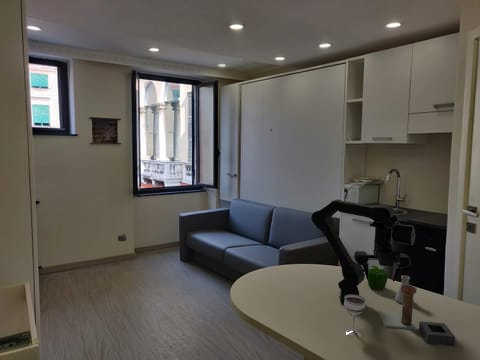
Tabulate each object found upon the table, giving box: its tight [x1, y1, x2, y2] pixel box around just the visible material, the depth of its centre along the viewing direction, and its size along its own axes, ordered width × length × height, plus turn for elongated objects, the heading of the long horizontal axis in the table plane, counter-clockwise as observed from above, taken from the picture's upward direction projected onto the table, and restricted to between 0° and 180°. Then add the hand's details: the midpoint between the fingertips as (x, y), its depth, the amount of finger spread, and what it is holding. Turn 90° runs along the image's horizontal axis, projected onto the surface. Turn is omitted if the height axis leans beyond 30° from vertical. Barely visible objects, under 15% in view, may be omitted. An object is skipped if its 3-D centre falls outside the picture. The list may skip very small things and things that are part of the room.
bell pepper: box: [366, 264, 389, 291], centre depth 154 cm, size 8×8×10 cm
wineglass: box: [343, 294, 366, 338], centre depth 119 cm, size 7×7×12 cm
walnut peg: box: [400, 284, 417, 326], centre depth 124 cm, size 5×5×13 cm
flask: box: [394, 275, 414, 305], centre depth 142 cm, size 7×7×10 cm
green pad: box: [377, 310, 416, 330], centre depth 128 cm, size 10×10×1 cm
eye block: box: [418, 320, 456, 346], centre depth 117 cm, size 8×8×3 cm
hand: (380, 280), depth 133 cm, fingers open, 9 cm apart
